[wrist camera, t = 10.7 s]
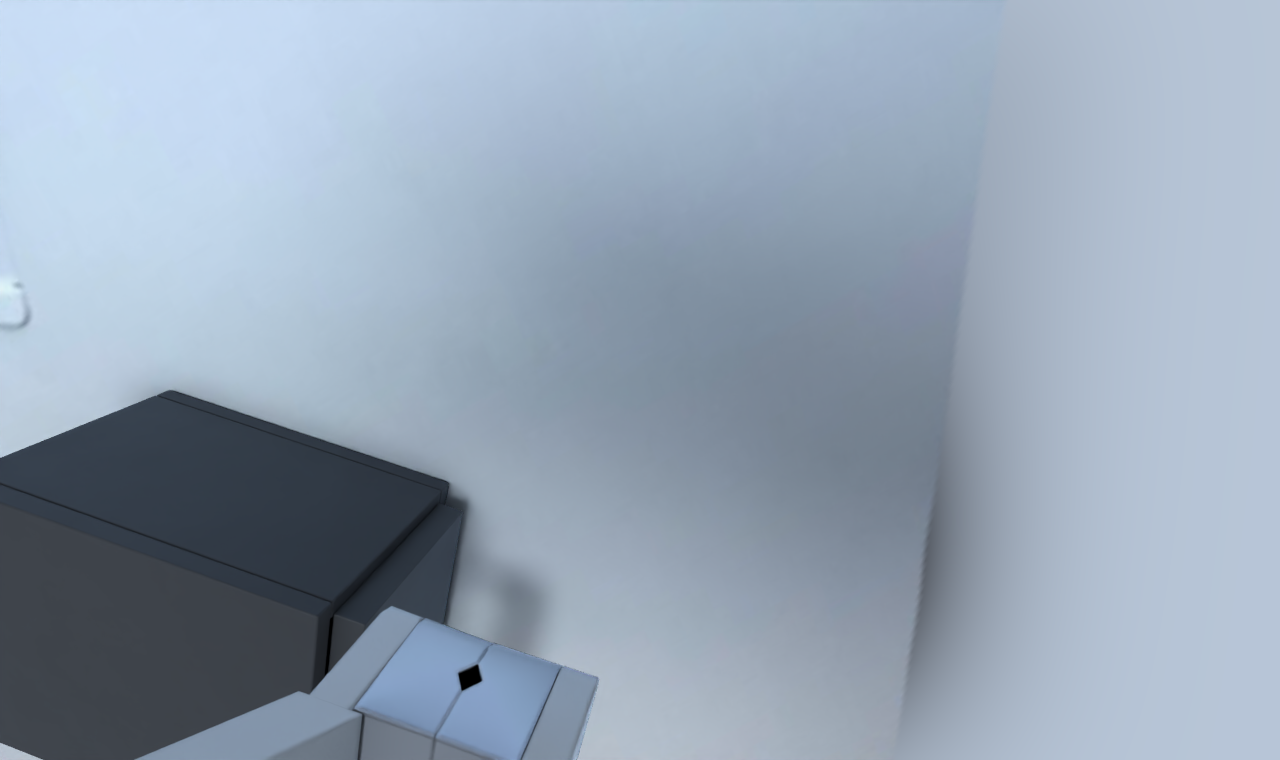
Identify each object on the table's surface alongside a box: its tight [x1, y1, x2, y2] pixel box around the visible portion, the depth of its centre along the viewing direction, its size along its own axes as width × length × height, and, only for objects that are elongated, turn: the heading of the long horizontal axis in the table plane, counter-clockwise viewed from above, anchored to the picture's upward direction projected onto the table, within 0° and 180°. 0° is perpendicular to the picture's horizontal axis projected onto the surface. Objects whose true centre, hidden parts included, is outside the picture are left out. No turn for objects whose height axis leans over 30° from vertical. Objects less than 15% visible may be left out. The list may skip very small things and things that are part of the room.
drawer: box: [325, 503, 463, 676], centre depth 29 cm, size 18×11×8 cm, turn 76°
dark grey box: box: [0, 390, 449, 760], centre depth 30 cm, size 15×13×10 cm
